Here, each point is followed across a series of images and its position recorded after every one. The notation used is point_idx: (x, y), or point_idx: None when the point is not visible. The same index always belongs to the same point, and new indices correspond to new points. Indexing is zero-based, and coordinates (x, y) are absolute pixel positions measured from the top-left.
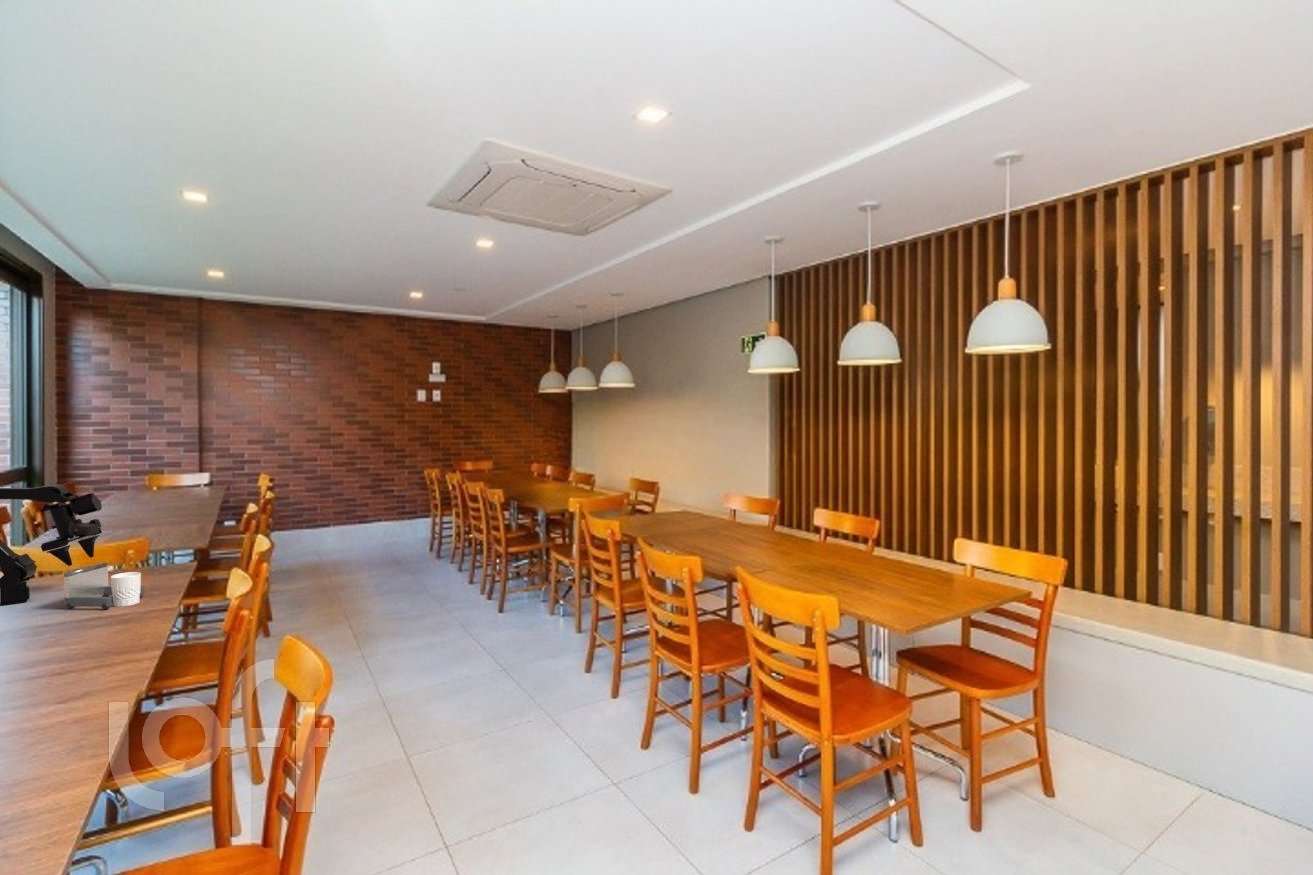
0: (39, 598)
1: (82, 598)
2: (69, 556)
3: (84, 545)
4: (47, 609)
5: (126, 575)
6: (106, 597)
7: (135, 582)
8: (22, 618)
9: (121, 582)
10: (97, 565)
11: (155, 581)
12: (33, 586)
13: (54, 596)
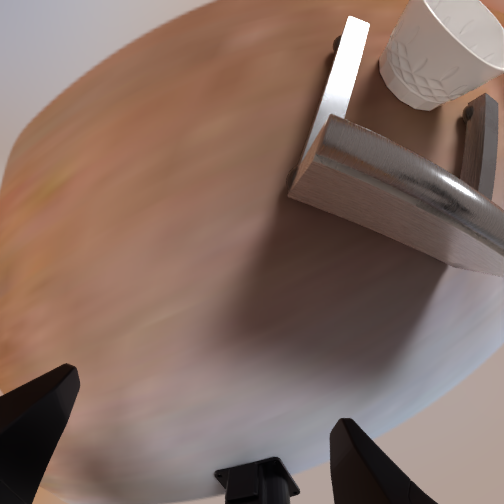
0: (226, 444)
1: (491, 191)
2: (387, 481)
3: (19, 488)
4: (419, 333)
5: (429, 22)
6: (490, 107)
7: (459, 11)
8: (486, 339)
9: (495, 44)
10: (430, 162)
11: (61, 126)
12: (80, 479)
13: (206, 414)
